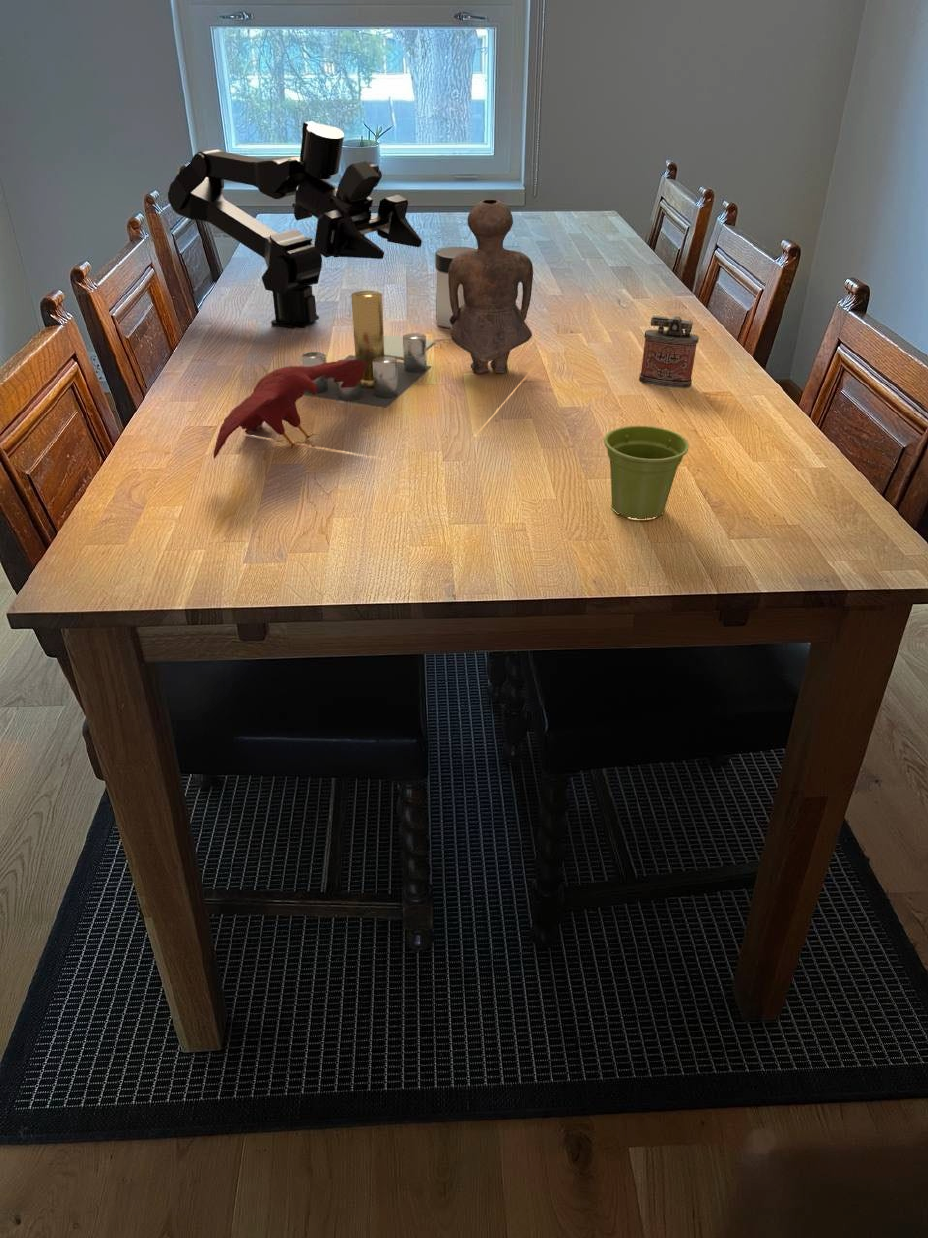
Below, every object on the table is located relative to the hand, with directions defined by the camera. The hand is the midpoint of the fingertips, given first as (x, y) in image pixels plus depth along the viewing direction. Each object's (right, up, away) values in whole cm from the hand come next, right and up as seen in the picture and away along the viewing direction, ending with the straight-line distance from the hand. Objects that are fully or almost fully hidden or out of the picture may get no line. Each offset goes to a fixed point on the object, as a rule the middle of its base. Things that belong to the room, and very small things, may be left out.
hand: (402, 249), depth 142 cm
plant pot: (+30, -45, -34) cm, 63 cm away
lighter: (+41, -21, 0) cm, 46 cm away
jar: (+9, -4, +23) cm, 25 cm away
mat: (-5, -21, -1) cm, 22 cm away
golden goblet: (-5, -21, -2) cm, 22 cm away
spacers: (-5, -21, -2) cm, 21 cm away
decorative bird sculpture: (-14, -34, -19) cm, 41 cm away
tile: (-1, -13, +10) cm, 16 cm away
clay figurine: (+14, -18, +3) cm, 23 cm away
